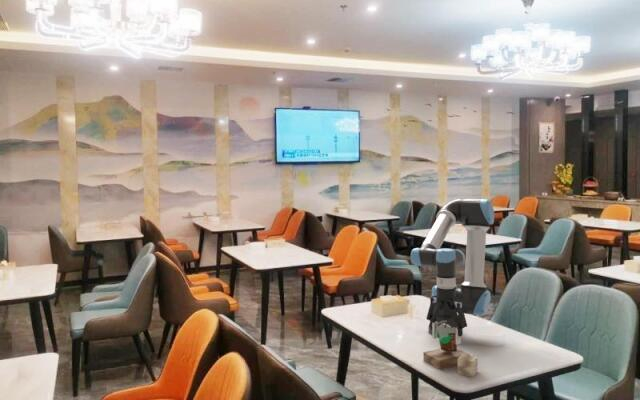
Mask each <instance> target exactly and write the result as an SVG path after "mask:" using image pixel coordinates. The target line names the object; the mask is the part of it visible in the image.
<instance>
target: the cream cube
mask: <svg viewBox="0 0 640 400" xmlns="http://www.w3.org/2000/svg"><path fill="white" fill-rule="evenodd" d="M478 357H479V356H475V355H471V354H470V355H465V354H462V355H461V356H460V357H459V358H458V366H457V375H462V376H466V375H468V376H467V377H471V376H474V377H475V375H476V374H477V373H478V372H479V371H478V370H479V369H478V363H479V361H478ZM477 371H478V372H477Z"/></svg>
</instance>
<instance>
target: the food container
mask: <svg viewBox="0 0 640 400" xmlns="http://www.w3.org/2000/svg"><path fill="white" fill-rule="evenodd" d="M436 330H437V331H438V334H439V336H438V338H439V339H438V340H439V345H440V349H442V350H443V351H448V352H456V351H457V349H458V348H457V345H456V328H455V327H454V328H453V327H452V326H451V325H449V324H448V323H447V320H445V321H441V322H438V323H437V326H436Z"/></svg>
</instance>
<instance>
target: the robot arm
mask: <svg viewBox="0 0 640 400" xmlns="http://www.w3.org/2000/svg"><path fill="white" fill-rule="evenodd" d="M494 210H495V209H494V205H493V204H492V202H491V200H489V199H485V198H456V199H453V200H451V201H449V202H447V203H446V204H444V205H443V206H441V208H439V210H438V212H437V214H436V216H435V219H436V220H435V221H434V223H433V225H432V227H431V229H430V230H429V232H428V233H427V235H426V238H425V239H424V240H423V243H422V244H421V246H420V247H415V248H413V249H412V250H411V252H410V261H411V264H412V265H414V266H420V267H433V268H436V284H435V285H434V286H432V288H431V297H430V299H429V301H430V304H429V308H428V312H427V315H426V320H427V321H429V325H428V327H427V328H428V333H429V334H430V335H431V337H432V339H437V338H439V334H438V331H437V330H436V326H437V323H438V322H441V321H445V320H447V323H448V324H449V325H451V326H452V327H453V328H454V327H455V328H456V345H460V344H462V336H463V332H464V330H463V329H464V328H467V327H468V323H467V319H466V315H471V316H485V315H486V313H487V312H488V310H489V309H490V308H489V307H490V303H491V292H490V290H488V289H487V288H488V287H487V285H486V284H485V283H484V280H485V279H484V277H485V263H486V262H485V258H486V243H487V242H486V241H487V240H486V239H487V232H488V231H489V230H490V229H491V226H490V225H493V224H494V223H495V211H494ZM456 224H463V227H464V229H466V231H467V232H466V246H465V247H466V248H465V253H464V252H463V251H462V250H460V249H457V248H455V249H453V248H446V247H445V248H444V247H443V248H441V247H442V245H443V243H444V241H445V239H446V237H447V235H448V233H449V232H450V230H451V228H453V227H454V226H455V225H456ZM464 263H465V267H464V281H463V282H462V283H461V284H460V287H458V285H457V283H456V282H457V281H456V280H457V279H456V278H457V277H456V269H458V268H460V267H462V266H463V264H464Z"/></svg>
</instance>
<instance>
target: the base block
mask: <svg viewBox="0 0 640 400" xmlns="http://www.w3.org/2000/svg"><path fill="white" fill-rule="evenodd" d="M462 354H465V355H471V354H470V353H468V352H465V351H463V350H461V349H460V348H457V351H456V352H448V351H443V350H442V349H441V348H438V349H433V350H429V351H423V362H425V363H427V364H428V365H430V366H432V367H435V368H436V369H438V370H439V371H441V370H445V369H449V368H454V367H458V358H459V357H460V356H461V355H462Z"/></svg>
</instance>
